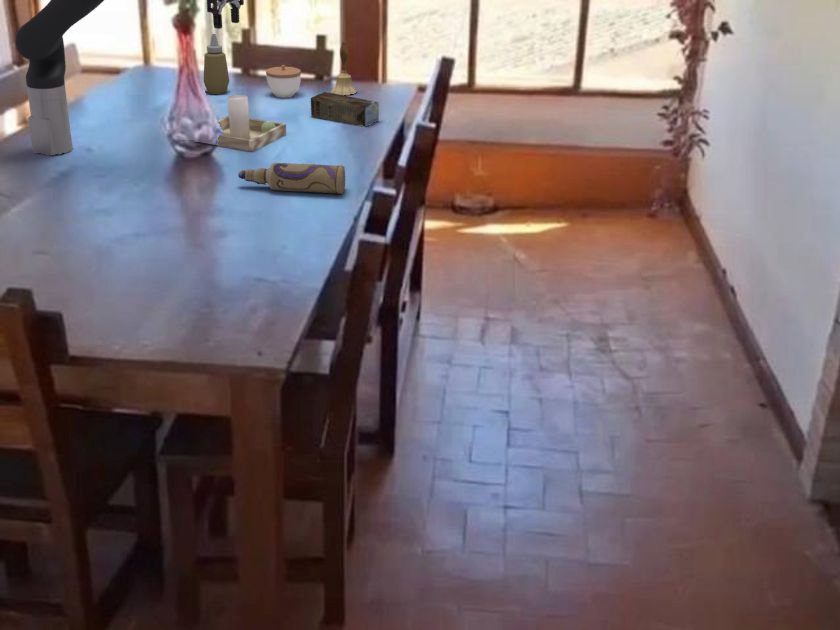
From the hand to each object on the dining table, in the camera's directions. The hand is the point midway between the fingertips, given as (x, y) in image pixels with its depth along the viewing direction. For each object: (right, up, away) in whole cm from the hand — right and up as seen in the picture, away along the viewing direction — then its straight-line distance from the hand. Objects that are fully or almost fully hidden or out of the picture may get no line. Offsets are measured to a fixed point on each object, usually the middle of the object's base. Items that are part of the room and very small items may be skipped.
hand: (226, 25), depth 288 cm
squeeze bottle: (-11, -9, +46) cm, 48 cm away
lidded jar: (+10, -10, +45) cm, 47 cm away
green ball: (+11, -29, +4) cm, 31 cm away
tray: (+4, -31, +1) cm, 31 cm away
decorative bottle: (+23, -48, -32) cm, 62 cm away
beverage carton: (+30, -22, +23) cm, 44 cm away
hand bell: (+28, -8, +50) cm, 58 cm away
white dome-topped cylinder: (+4, -30, +1) cm, 30 cm away
